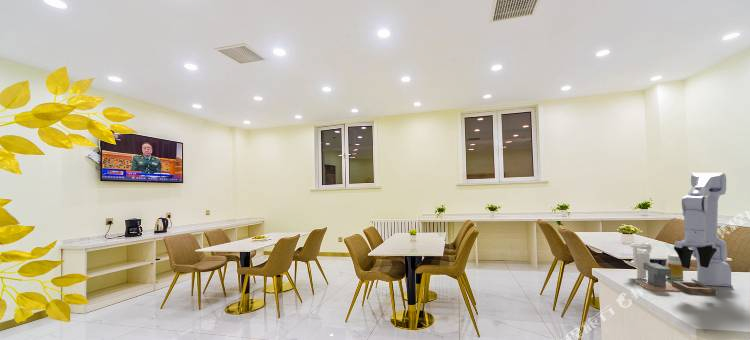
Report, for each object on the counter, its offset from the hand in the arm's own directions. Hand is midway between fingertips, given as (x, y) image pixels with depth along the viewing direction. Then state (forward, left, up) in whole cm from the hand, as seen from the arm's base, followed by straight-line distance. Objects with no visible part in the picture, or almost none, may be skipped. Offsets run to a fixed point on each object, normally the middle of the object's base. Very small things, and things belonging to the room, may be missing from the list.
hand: (695, 267), depth 127 cm
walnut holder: (-3, -6, -10) cm, 12 cm away
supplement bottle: (-6, -22, -10) cm, 25 cm away
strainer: (+7, -20, -10) cm, 23 cm away
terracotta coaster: (+8, -8, -10) cm, 15 cm away
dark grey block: (+8, -8, -9) cm, 15 cm away
